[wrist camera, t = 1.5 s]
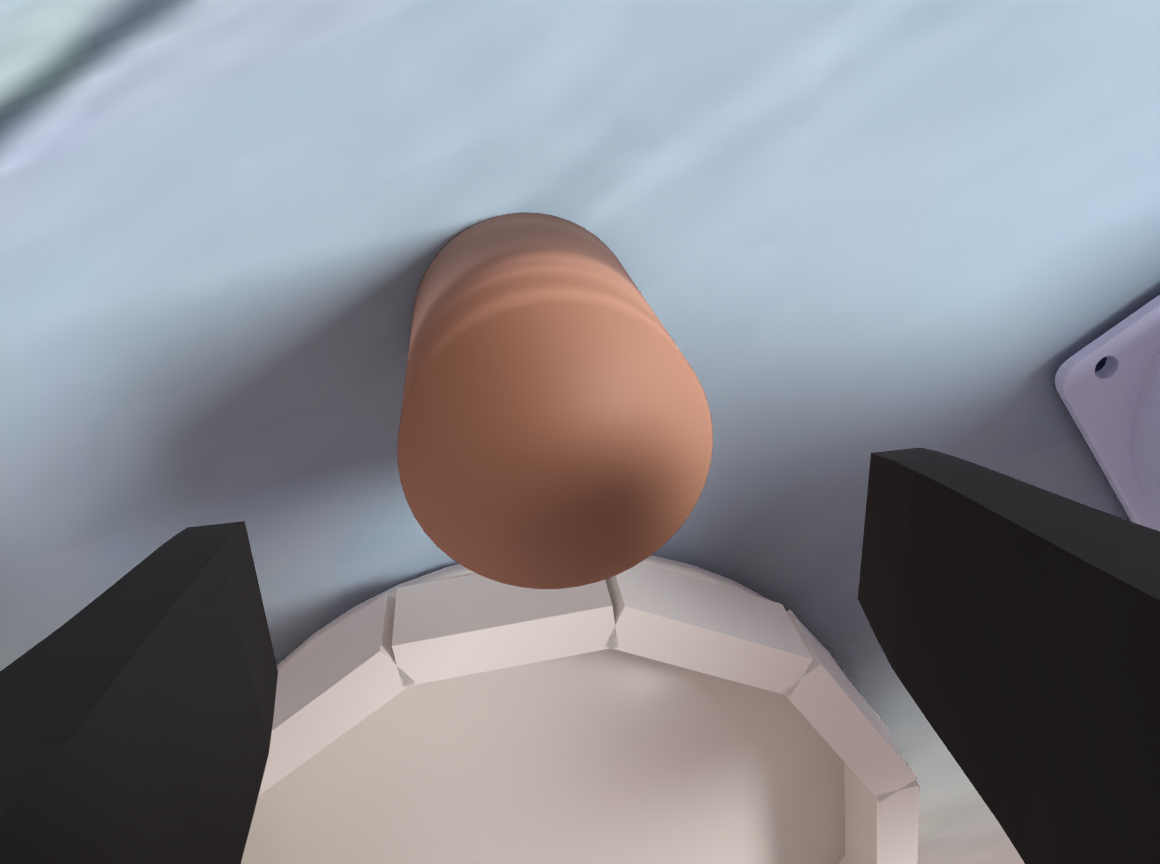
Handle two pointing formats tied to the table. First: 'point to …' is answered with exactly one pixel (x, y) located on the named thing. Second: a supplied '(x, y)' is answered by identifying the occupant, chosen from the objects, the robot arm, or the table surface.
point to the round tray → (577, 732)
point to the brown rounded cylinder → (546, 409)
